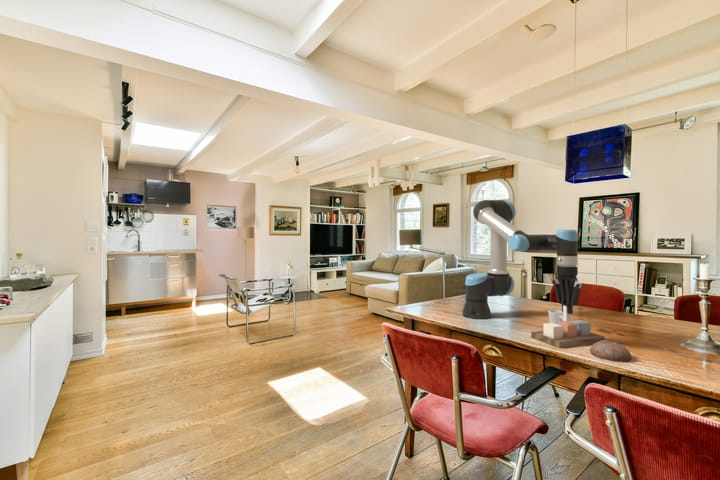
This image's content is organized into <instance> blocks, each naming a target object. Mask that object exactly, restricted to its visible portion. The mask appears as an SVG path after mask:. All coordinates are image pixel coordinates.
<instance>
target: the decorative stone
mask: <svg viewBox="0 0 720 480" xmlns="http://www.w3.org/2000/svg"><path fill="white" fill-rule="evenodd" d="M589 351H590V355H592V356H593V357H596V358H599V359H602V360H606V361H611V362H619V363H621V362H622V363H624V362H629V361H631V360H632V354H631V352H630V350H629V349H627V348H626V346H625V345H623V344H621V343H618V342H616V341H613V340H606V339H605V340H602V341H599V342H596V343H595V344H591V347H590V349H589Z"/></svg>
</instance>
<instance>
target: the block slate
mask: <svg viewBox="0 0 720 480" xmlns="http://www.w3.org/2000/svg"><path fill="white" fill-rule="evenodd" d="M570 323H573V324H577V334H579V335H589V334H591V333H592V331H591V326H592V325H591V324H592V323H591V322H588V321H584V320H582V319H579V320H578V319H577V320H571V321H570Z"/></svg>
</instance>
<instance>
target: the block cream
mask: <svg viewBox="0 0 720 480" xmlns="http://www.w3.org/2000/svg"><path fill="white" fill-rule="evenodd" d="M542 331H543V335H545V336H548V337H550V338H553V339H555V338H563V326H561V325H558V324H555V323H549V322H547V323H543V330H542Z"/></svg>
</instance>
